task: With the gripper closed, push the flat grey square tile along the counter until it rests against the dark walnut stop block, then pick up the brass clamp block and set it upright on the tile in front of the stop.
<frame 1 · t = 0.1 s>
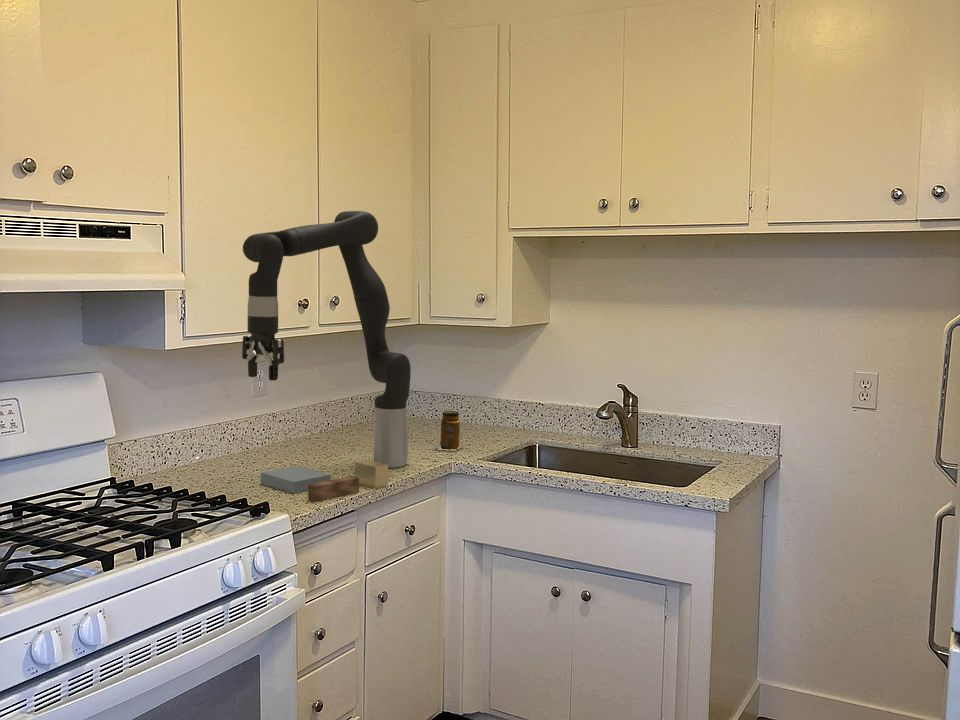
hand: (262, 378, 227), 29 cm above the worktop, fingers open, 8 cm apart
condiment: (448, 449, 289), on the worktop
clamp block: (371, 485, 240), on the worktop
stop block: (333, 496, 227), on the worktop
flat grey square tile: (295, 479, 237), point 2 cm above the worktop, slide at 0.0 cm
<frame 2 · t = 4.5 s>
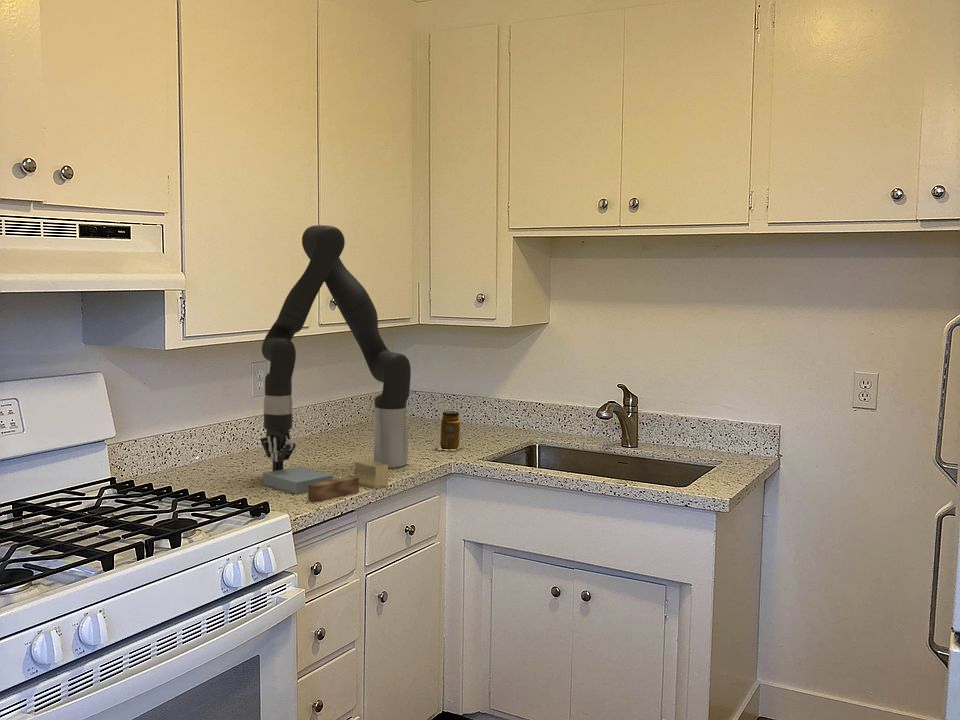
hand: (277, 474, 242), 1 cm above the worktop, fingers closed
flat grey square tile: (297, 479, 236), point 2 cm above the worktop, slide at 1.0 cm, touching gripper
everything else where it was.
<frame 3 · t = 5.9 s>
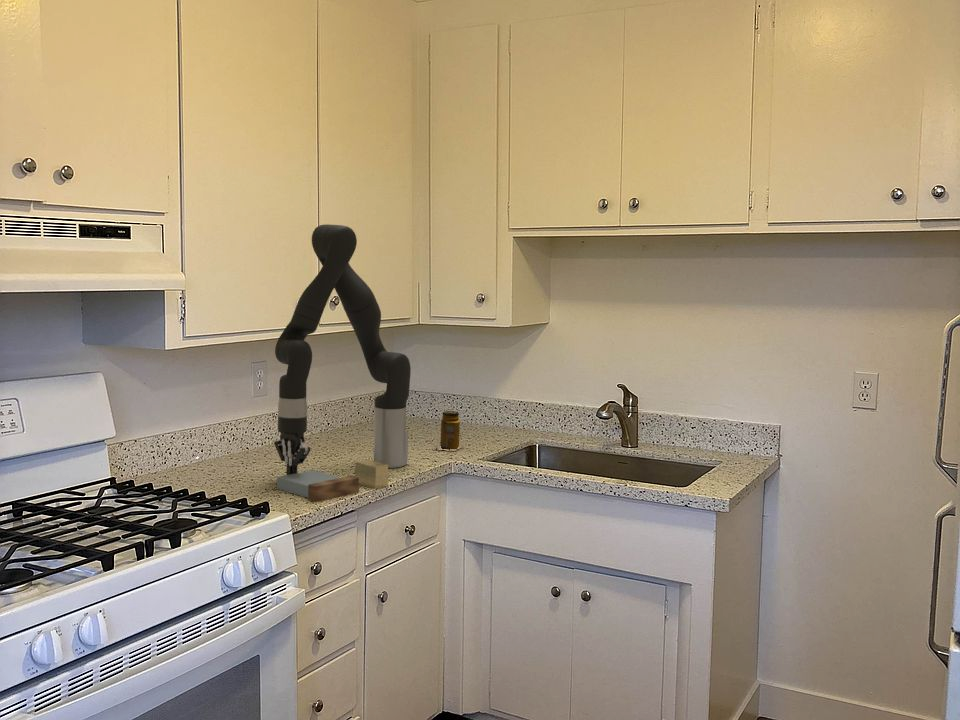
hand: (291, 478, 238), 1 cm above the worktop, fingers closed
flat grey square tile: (312, 483, 232), point 2 cm above the worktop, slide at 7.0 cm, touching gripper, stop block
everything else where it was.
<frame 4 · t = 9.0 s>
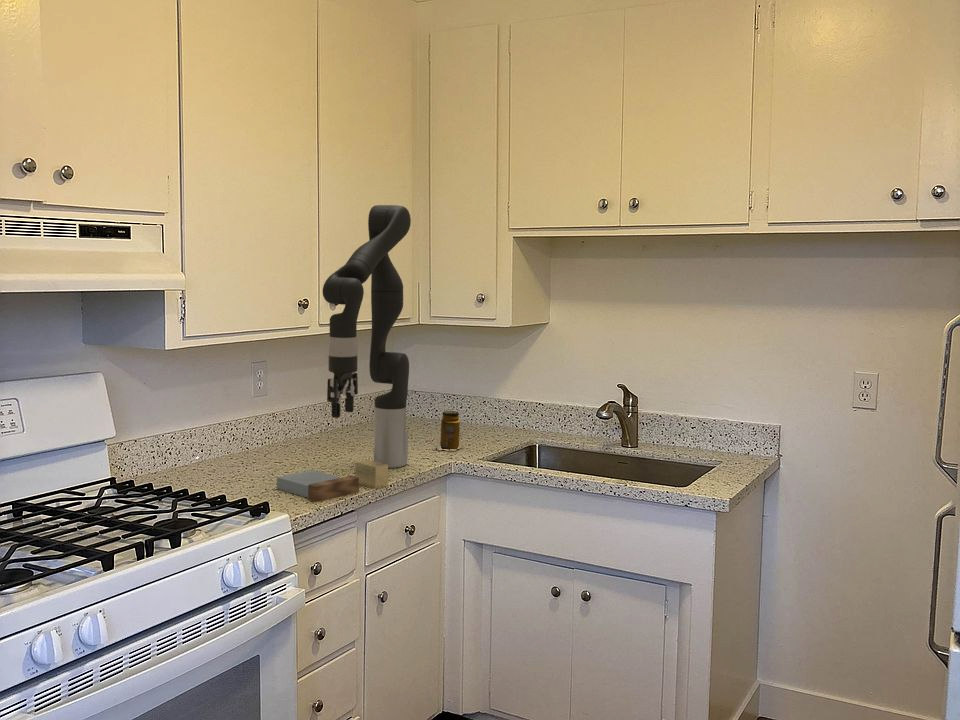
hand: (342, 414, 237), 19 cm above the worktop, fingers open, 8 cm apart
flat grey square tile: (312, 483, 232), point 2 cm above the worktop, slide at 7.0 cm, touching stop block
everything else where it was.
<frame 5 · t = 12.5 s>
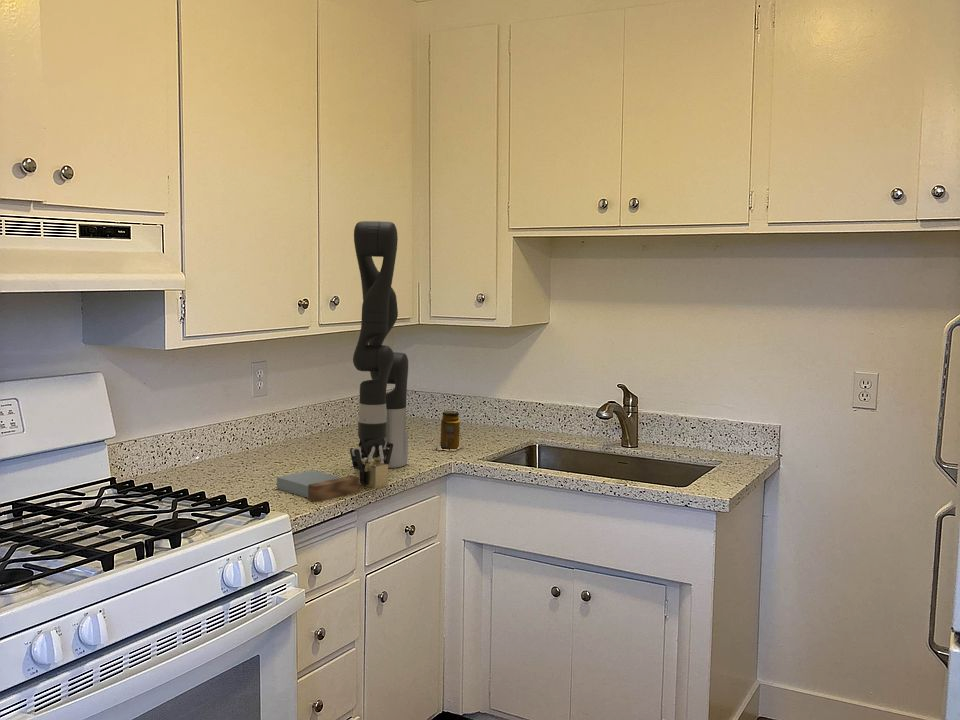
hand: (371, 482, 240), 1 cm above the worktop, fingers closed on clamp block, 4 cm apart
clamp block: (371, 485, 240), on the worktop, touching gripper
everything else where it was.
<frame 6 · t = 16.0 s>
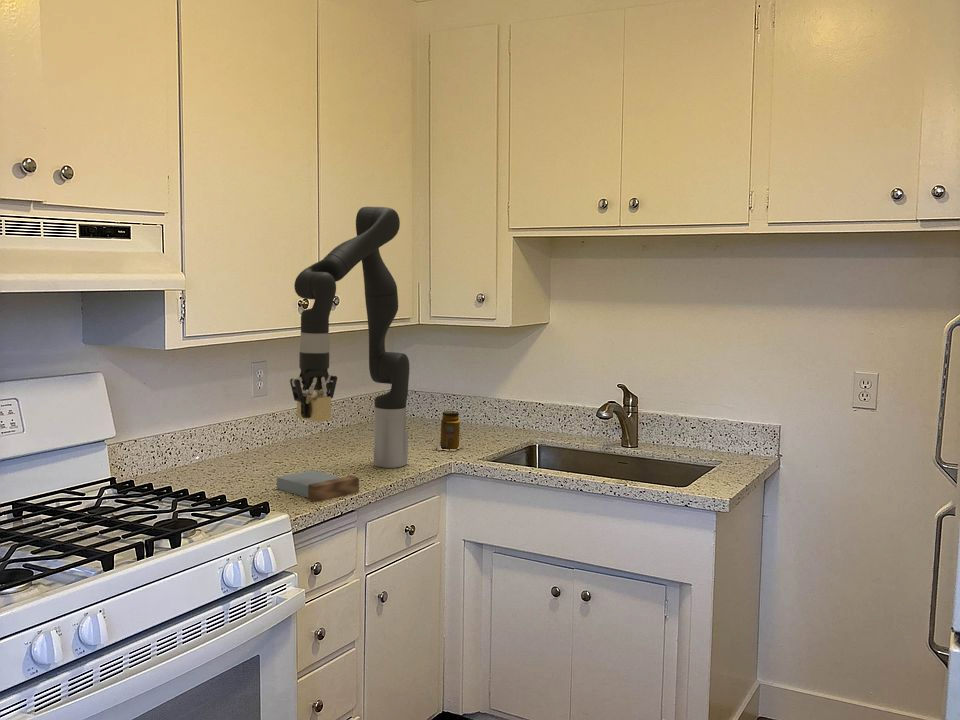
hand: (313, 416, 230), 19 cm above the worktop, fingers closed on clamp block, 4 cm apart
clamp block: (313, 418, 230), point 19 cm above the worktop, touching gripper
everything else where it was.
when the fingers open (5 cm above the worktop, at t = 19.5 s): clamp block stays where it is, resting on flat grey square tile.
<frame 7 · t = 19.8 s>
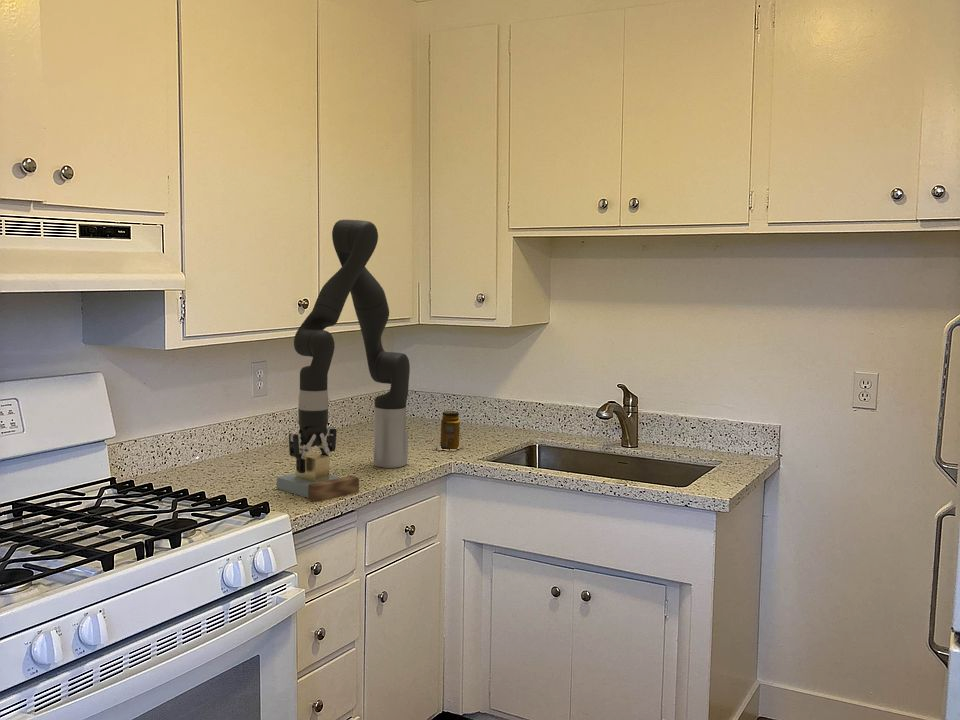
hand: (312, 470, 232), 5 cm above the worktop, fingers open, 6 cm apart
clamp block: (312, 478, 232), point 3 cm above the worktop, touching flat grey square tile
flat grey square tile: (312, 483, 232), point 2 cm above the worktop, slide at 7.0 cm, touching clamp block
everything else where it was.
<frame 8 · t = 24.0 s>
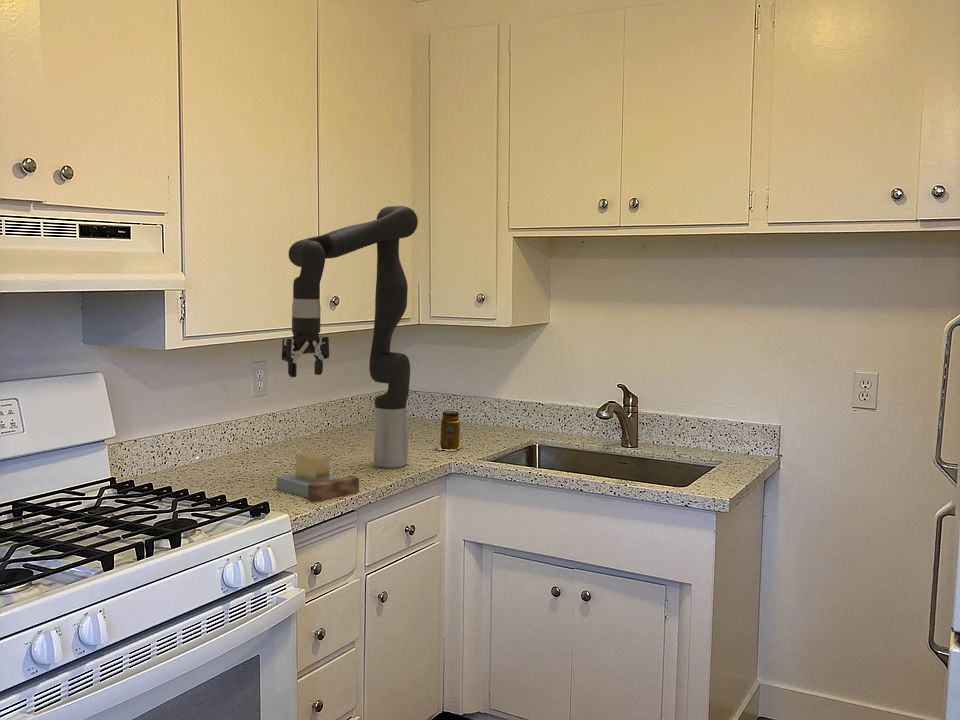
hand: (305, 375, 242), 28 cm above the worktop, fingers open, 8 cm apart
nothing on the worktop moved.
at the end: flat grey square tile slide at 7.0 cm; clamp block inside the target area (0.1 cm from its centre), point 3.2 cm above the worktop; clamp block tilted 0° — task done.
